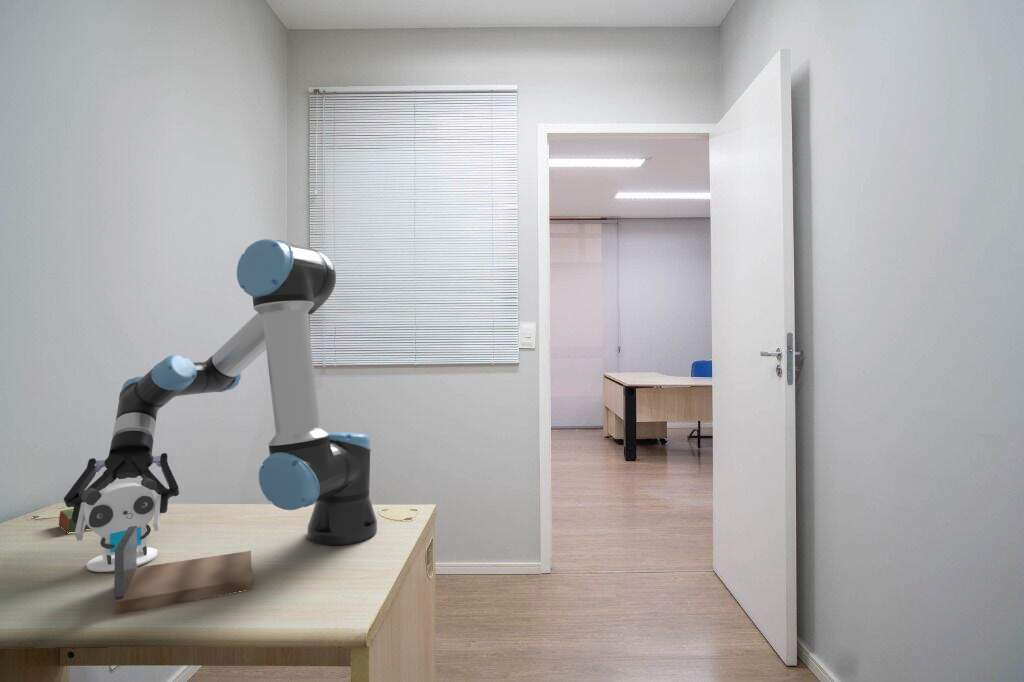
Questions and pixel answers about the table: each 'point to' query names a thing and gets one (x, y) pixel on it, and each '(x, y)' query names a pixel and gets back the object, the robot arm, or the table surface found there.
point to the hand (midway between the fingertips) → (118, 532)
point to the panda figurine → (120, 519)
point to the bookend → (125, 562)
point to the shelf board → (186, 581)
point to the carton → (68, 521)
